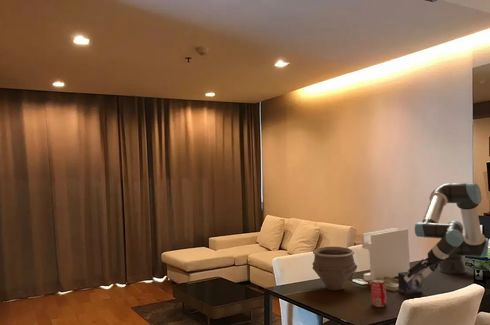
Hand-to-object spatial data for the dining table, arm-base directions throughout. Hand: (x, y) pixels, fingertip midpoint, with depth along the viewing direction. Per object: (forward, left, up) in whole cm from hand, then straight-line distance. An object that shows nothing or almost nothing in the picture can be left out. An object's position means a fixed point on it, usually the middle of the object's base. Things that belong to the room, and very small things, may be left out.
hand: (414, 278), depth 214 cm
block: (-17, -34, -9) cm, 39 cm away
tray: (-2, -19, -9) cm, 21 cm away
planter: (+26, -33, -9) cm, 43 cm away
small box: (-1, -4, -9) cm, 10 cm away
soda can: (+28, +1, -9) cm, 29 cm away
